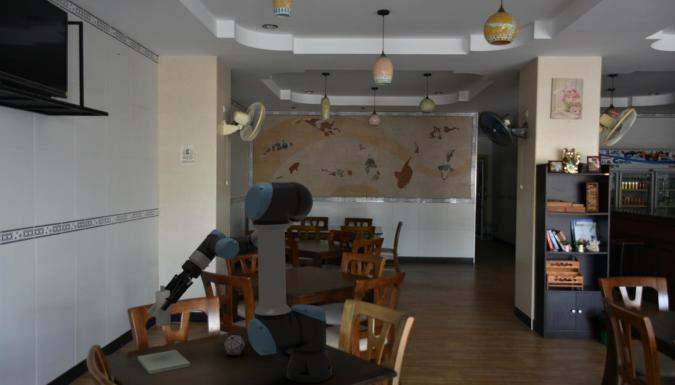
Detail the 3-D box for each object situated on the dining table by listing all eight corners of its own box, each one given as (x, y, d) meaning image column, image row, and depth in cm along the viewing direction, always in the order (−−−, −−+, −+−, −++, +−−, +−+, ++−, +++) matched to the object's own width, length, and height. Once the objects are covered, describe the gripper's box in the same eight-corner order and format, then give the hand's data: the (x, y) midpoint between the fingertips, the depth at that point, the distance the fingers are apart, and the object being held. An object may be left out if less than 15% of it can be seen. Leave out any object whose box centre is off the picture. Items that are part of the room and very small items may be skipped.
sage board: (190, 366, 185) (189, 362, 185) (149, 374, 178) (149, 370, 178) (175, 352, 200) (175, 349, 200) (137, 359, 193) (137, 356, 193)
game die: (235, 367, 195) (229, 350, 188) (221, 354, 199) (214, 338, 193) (253, 350, 200) (248, 334, 193) (238, 339, 204) (233, 323, 198)
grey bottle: (172, 324, 189) (171, 286, 189) (158, 326, 186) (157, 287, 186) (168, 321, 193) (167, 284, 193) (154, 324, 191) (153, 285, 190)
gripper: (212, 274, 192) (169, 326, 182) (193, 268, 206) (152, 317, 196) (198, 261, 189) (153, 313, 179) (179, 256, 203) (137, 305, 193)
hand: (152, 315), depth 188 cm, fingers closed on grey bottle, 5 cm apart
